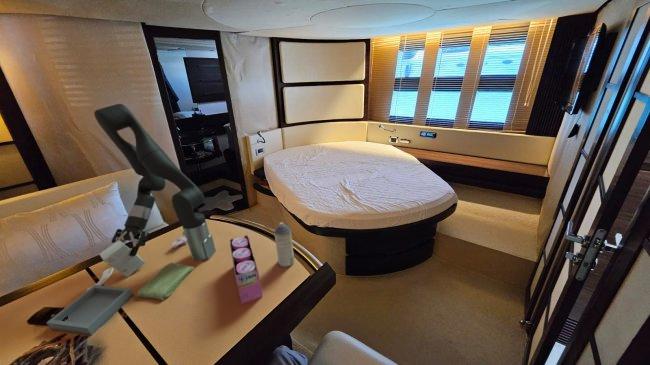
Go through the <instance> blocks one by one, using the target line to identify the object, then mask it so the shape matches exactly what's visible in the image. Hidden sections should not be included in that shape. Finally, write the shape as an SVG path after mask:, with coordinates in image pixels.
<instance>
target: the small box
mask: <svg viewBox="0 0 650 365" xmlns="http://www.w3.org/2000/svg"><path fill="white" fill-rule="evenodd" d="M131 249H132V248H130V247H129V246H127V245H126V243H125V242H124V243H122V242H121V241H120V240H118V241H117V242H115V243H112V244H111V245H110V246H108V247H107V248H106V249H104V250H103V251H102V252H100V253H99V254H98V255H99V256H100V257H101V259H102V261H103V262H105V263H107V264H108V265H110V267H111V268H112V267H113V268H114V269H115V270H116V271H117V272H119V273H120V274H121V275H123V276H124V277H125V278H128V277H130V276H131V275H132V274H134V272H135V271H137V270H138V269H140V268H141V267H142V266H143V265H145V263H146V262H145V260H144V259H142V258H141V256H139V255H138V254H136V255H135V256H129V254H130V252H131Z"/></svg>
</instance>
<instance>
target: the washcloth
mask: <svg viewBox="0 0 650 365" xmlns="http://www.w3.org/2000/svg"><path fill="white" fill-rule="evenodd" d="M194 268H195V267H194V266H193V265H192V266H191V265H187V264H186V265H185V264H183V263H174V262H169V263H168V264H166V265H165V266H163V267H162V268H161V269H159V271H158V272H157V273H156V274H155V275H154V276H153V277H151V279H150V280H149V281H147V282H146V283H145V284H144V285H143V286H142V287H141V288H140V289H139V290H138V292H137V294H136V295H137V297H139V298H147V299H150V298H151V299H155V300H160V301H164V300H167V298H168V297H170V296H171V295H172V294H173V292H175V291H176V289H177V288H178V287H179V286H180V284H181V283H182V282H183V281H184V280H185V279H186V277H188V275H189V274H190V273H191V272H192V271H193V270H194Z"/></svg>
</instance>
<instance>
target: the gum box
mask: <svg viewBox="0 0 650 365" xmlns="http://www.w3.org/2000/svg"><path fill="white" fill-rule="evenodd" d="M229 247H230V252H231V254H230V255H231V260H232V266H233V270H234V276H235V280H236V285H237V289H238V293H239V299H240V303H241V305H243V304H246V303H249V302H252V301H254V300H257V299H260V298H263V291H262V284H261V280H260V273H259V269H258V266H257V262H256V258H255V256H254V252H253V248H252V244H251V242H250V237H249V235H246V234H245V235H244V236H243V237H241V236H240V237H237V238H235V239H234V238H230V239H229Z"/></svg>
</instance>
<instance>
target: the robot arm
mask: <svg viewBox="0 0 650 365" xmlns="http://www.w3.org/2000/svg"><path fill="white" fill-rule="evenodd" d="M93 115H94V117H95V121H96V122H97V123H98V125H99V126H100V128H102V130H103V131H104V132H105V134H106V135H107V136H108V137H109V139H110V140H111V141H112V143H114V145H115V146H116V148H118V150H119V151H120V152H121V153H122V154H123V155H124V156H123V157H125V159H126V160H127V162H128V163H129V165H130V166H131V168H132V169H133V171H134V172H135V174H137V175H138V176H142V177H141V179H140V180H139V181H138V185H137V193H136V199H135V200H134V203H133V205H132V206H131V209H130V210H129V212H128V215H127V218H126V220H125V222H124V225H123V226H124V229H121V228H117V229H116V230H115V233H114V235H113V237H112V239H111V243H112V244H114V243H115V242H117V241H118V240H120V241H121V242H122V243H124V244H125V243H126V242H127V241H129V242H130V241H131V243H132V244H133V246H132V247H131V248H130V249H131V252H130V254H129V256H135V255H136V254H137V253H138V251H139V248H141V247H145V245H146V244H147V239H148V236H149V232H148V231H145V229H146V227H147V223H148V222H149V219H150V217H151V214H152V209H153V208H154V204H155V203H156V197H155V196H153V195H151V192H161V191H163V190H164V189H165V188H166V181H169V182H170V183H172V184H174V186H176V187H177V188H178V189H179V191H178V192H176V193H175V194H173V195H172V197H171V203H172V207H173V209H174V212H175V214H176V217H177V219H178V221H179V222H180V224H181V226H182V229H183V232H184V233H185V235H184V237H185V236H186V239H187V242H186V243H187V245H188V249H189V252H190V254H191V257H192V260H193V261H194V262H195V261H196V262H201V261H205V260H210V259H211V258H212V257H213V255H214V254H215V253H216V251H217V250H216V247H215V242H214V238H213V235H212V234H211V233H210V230H209V227H208V224H207V220H206V217H205V215H204V213H202V212H194V210H195V209H196V208H198V207H200V206H201V205H202V204H204V202H205V195H204V193H203V192H202V190H201V189H200V188H199V187H198V185H196V184H195V183H194V182H193V181H192V180H191V179H190V178H188V177H187V175H186V174H184V173H183V172H182V170H181V169H180V168H179V167H178V166H177V165H176V164H175V163H174V162H173V161H172V159H171V158H170V157H169V156H168V154H167V153H166V152H165V151H164V150H163V149H162V148H161V147H160V145H158V143H156V141H155V140H154V139H153V138H152V137H151V136H150V134H148V132H147V131H146V129H145V128H144V127H143V125H142V124H141V123H140V121H139V120H138V119H137V117H136V116H135V115H134V114H133V112H132V111H131V110H130V108H128V107H127V106H126V105H124V104H123V103H116V104H112V105H109V106H106V107H101V108H98V109H96V110H95V111H94V113H93ZM127 128H128V129H129V128H130V130H131V131H132V132H133V135H134V138H135V145H133V144H132V143H130V142H129V141H126V140H125V139H124V138H123V137H122V136H121V135H120V134H119V132H118V131H121V130H125V129H127ZM137 255H138V254H137Z"/></svg>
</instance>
